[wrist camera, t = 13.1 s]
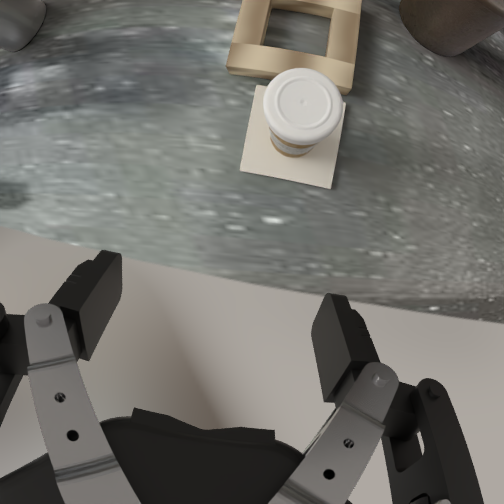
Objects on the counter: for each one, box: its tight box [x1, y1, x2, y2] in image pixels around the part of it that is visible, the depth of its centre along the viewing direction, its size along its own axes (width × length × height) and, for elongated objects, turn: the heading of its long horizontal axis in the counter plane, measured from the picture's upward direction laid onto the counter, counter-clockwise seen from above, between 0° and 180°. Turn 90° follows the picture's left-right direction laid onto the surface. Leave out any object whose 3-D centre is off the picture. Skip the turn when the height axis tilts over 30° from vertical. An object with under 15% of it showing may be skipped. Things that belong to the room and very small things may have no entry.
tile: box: [240, 85, 346, 189], centre depth 29 cm, size 9×9×1 cm
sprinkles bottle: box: [263, 68, 343, 158], centre depth 22 cm, size 5×5×14 cm
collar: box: [226, 0, 362, 95], centre depth 25 cm, size 12×12×2 cm
